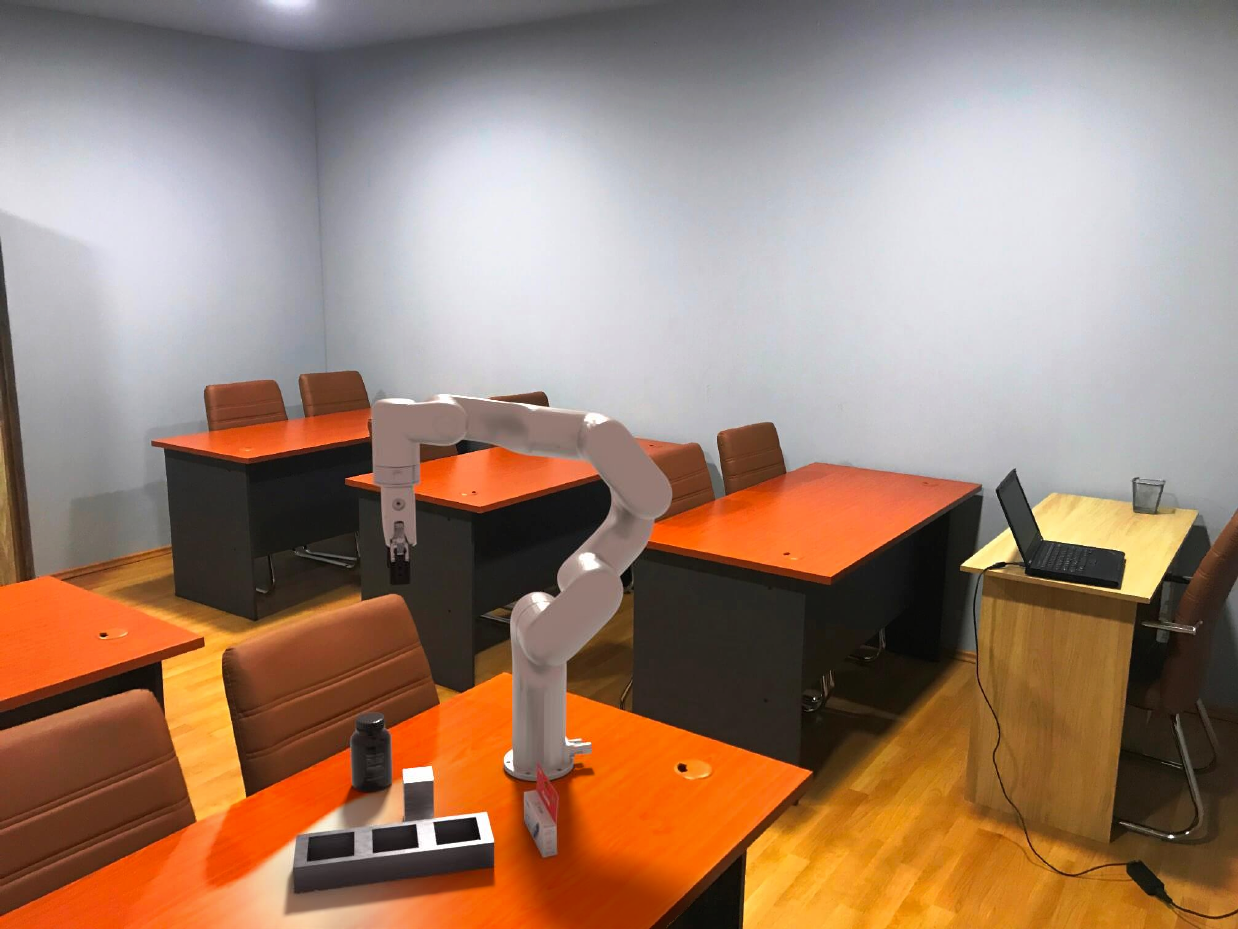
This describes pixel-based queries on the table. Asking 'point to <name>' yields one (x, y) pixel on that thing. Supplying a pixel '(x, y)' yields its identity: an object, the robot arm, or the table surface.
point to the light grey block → (418, 794)
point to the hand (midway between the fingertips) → (398, 575)
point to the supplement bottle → (371, 753)
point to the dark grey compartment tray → (392, 852)
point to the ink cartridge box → (542, 814)
